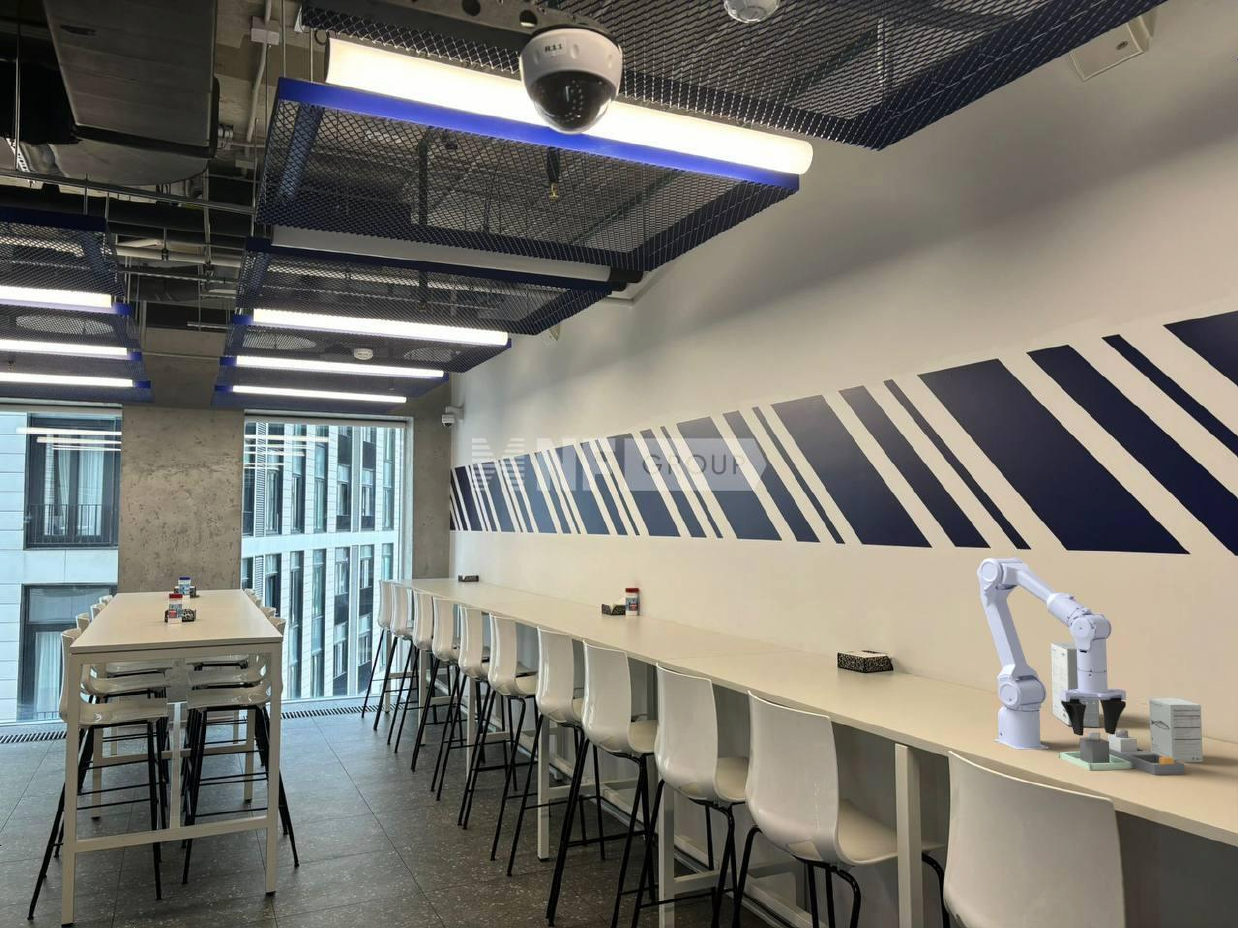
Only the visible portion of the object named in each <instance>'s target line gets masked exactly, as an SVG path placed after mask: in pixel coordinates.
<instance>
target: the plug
mask: <svg viewBox="0 0 1238 928" xmlns="http://www.w3.org/2000/svg"><path fill="white" fill-rule="evenodd" d="M1079 752H1080V760H1082V761H1085V762H1087V763H1090V764H1094V763H1110V756H1109V741H1108V740H1107V739H1103V738H1101V732H1099V731H1095V730H1090V731H1089V730H1087V736H1086V737H1084V736H1083V737H1079Z"/></svg>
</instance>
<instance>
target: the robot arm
mask: <svg viewBox="0 0 1238 928" xmlns="http://www.w3.org/2000/svg"><path fill="white" fill-rule="evenodd" d="M976 574H977V577H978V581H979V584H980V585H979V587H980V588H979V590H980V591H979V597H980V600H981V603H982V607H983V610H984V613H985V617H986V620H987V623H988V626H989V629H990V633H991V636H992V639H993V642H994V646H995V648H996V651H997V655H998V658H999V662H1000V664H1001V668H1002V669H1001V670H1000V672H999V674H998V675H997V677H996V681H997V683H998V690H997V692H998V697H999V700H1000V701H1001V703H1002V704H1003V706H1001V707H1000V709H999V710H998V713H997V726H998V729H997V730H998V738H995V739H994V741H995V742H997V743H1001V744H1003V745H1007V746H1009V747H1010V748H1012V749H1013V748H1014V749H1016V750H1019V751H1020V750H1042V749H1043V750H1045V749H1047V750H1048V749H1050V748H1049V747H1048V746H1046V745H1044V744H1042V743H1041V713H1040V710H1041V708H1042V704H1043V703H1045V701H1046V698H1047V688H1046V686H1045V684H1044V683H1043V682H1042V680H1041V679H1040V678H1039V675H1038V672H1037V671H1036V670H1035V669H1034V668H1033V667H1031V665H1029V664H1028V663H1027V660H1026V656H1025V654H1024V651H1023V649H1022V645H1021V641H1020V638H1019V636H1018V632H1017V629H1016V626H1015V623H1014V619H1013V617H1012V614H1011V610H1010V608H1009V607H1010V606H1009V604H1008V602H1007V600H1008V597H1009V596H1010V594H1011V593H1012V592H1013V591H1014V590H1015V589H1016V588H1017V587H1018V586H1020V587H1022V588H1023V589H1024V590H1025V591H1027V592H1028V593H1030V594H1031V595H1033V596H1034V597H1036V598H1037V599H1039V600H1041V601H1042V602H1043V603H1044V604H1046V607H1047V611H1048V613H1049V614H1051V615H1052V616H1053V617H1054V618H1055V619H1057V620H1058V621H1059V622H1061V623H1062V624H1064V626H1066V627H1067V628H1068V629H1069V632H1070V635H1071V637H1072V638H1073V639H1074V643H1075V646H1076V648H1077V674H1078V689H1074V690H1067V691H1060V700H1061V704H1062V705H1063V707H1064V709H1065V710H1066V712H1067V714H1068V716H1069V719H1070V722H1071V725H1072V726H1071V728H1072V730H1073V734H1074V735H1077V736H1080V737H1081V736H1083V737H1084V733H1085V732H1084V731H1085V730H1084V728H1085V726H1084V725H1083V720H1084V713H1085V709H1086V705H1084V704H1081V702H1080V700H1099V702H1100V705H1101V708H1102V714H1103V723H1104V732H1105V733H1106V734H1108V735H1116V729H1117V727H1118V723H1119V721H1120V717H1121V715H1122V713H1123V712H1124V709H1125V708H1126V706H1127V702H1126V701H1127V691H1126V690H1124V689H1120V688H1117V689H1116V688H1111V689H1110V688H1109V685H1108V659H1107V639H1108V638H1109V637H1110V636H1111V633H1112V625H1111V622H1110V620H1109V619H1108V618H1107V617H1106V616H1105V615H1104V614H1103V613H1097V612H1096V613H1094V612H1092V610H1091V608H1089V607H1087V606H1086V607H1085V606H1084V605H1082V604H1081V603H1080V602H1078V601H1077V599H1075V596H1074V595H1073V594H1072V593H1070V592H1069V593H1066V592H1057V591H1056V590H1055V589H1053V588H1052V587H1051V586H1050V585H1048V584H1047V582H1045V581H1044V580H1043V579H1042V578H1040V577H1039V576H1038V575H1037V574H1036V573H1035V572H1034V571H1033V570H1032V569H1030V566H1029V565H1028V563H1025V562H1023V561H1022V560H1021V559H1019V558H1017V557H1010V558H992V557H989V558H985V559H983V561H982V562H981V563H980V565H979V567H978V569H977V570H976Z"/></svg>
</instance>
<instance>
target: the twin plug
mask: <svg viewBox="0 0 1238 928" xmlns="http://www.w3.org/2000/svg"><path fill="white" fill-rule="evenodd" d="M1107 741H1109V748H1110V749H1113V750H1116V751H1119V752H1133V751H1137V748H1138V742H1137V741H1138V739H1137V738H1136V737H1133V736H1129V730H1128V729H1125V728H1116V731H1115V734H1113V735H1112V734H1108V735H1107Z"/></svg>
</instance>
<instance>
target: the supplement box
mask: <svg viewBox="0 0 1238 928" xmlns="http://www.w3.org/2000/svg"><path fill="white" fill-rule="evenodd" d="M1148 699H1149V730H1150V732H1149V733H1150V752H1151V753H1154V754H1157V755H1160V756H1163V757H1172V758H1174V760H1175V761H1178V762H1181V763H1203V762H1204V761H1203V759H1204V756H1203V728H1202V725H1203V724H1202V704H1199V703H1195V702H1192V701H1189V700H1185V699H1182V698H1179V697H1158V698H1157V697H1155V698H1154V697H1151V698H1148Z"/></svg>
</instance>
